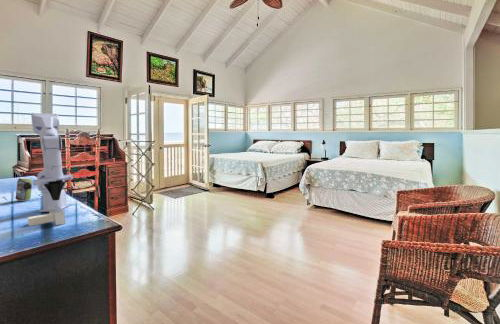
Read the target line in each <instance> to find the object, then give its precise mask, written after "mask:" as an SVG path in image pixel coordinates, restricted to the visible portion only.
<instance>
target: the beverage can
mask: <svg viewBox="0 0 500 324" xmlns="http://www.w3.org/2000/svg"><path fill="white" fill-rule="evenodd" d="M16 182H17V183H16V190H15V199H16V200H17V201H20V202H21V201H22V202H25V201H29V200H31V197H32V188H33V179H32V178H31V177H18V179H17V180H16Z"/></svg>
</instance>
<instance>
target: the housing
mask: <svg viewBox="0 0 500 324" xmlns="http://www.w3.org/2000/svg"><path fill="white" fill-rule="evenodd" d="M50 213H53V219H54V221H53V223H54V225H55V226H61V225H64V224H66V215H65V211H64V209H61V208H60V207H59V206H58V205H52V206H49V212H48V214H50Z"/></svg>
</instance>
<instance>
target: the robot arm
mask: <svg viewBox="0 0 500 324" xmlns="http://www.w3.org/2000/svg"><path fill="white" fill-rule="evenodd" d="M30 116H31V127H32V131H33V133H34V134H37V135H39V139H40V148H41V152H42V161H43V162H42V163H43V169H42V170H41V171H40V172H38V173H37V176H36V177H37V178H36V179H32V186H37V190H38V191H39V192H41V194H42V195H41V196H42V205H43V208H42V209H39V210H38V212H39V213H42V212H43V213H47V212H48V213H49V206H52V205H58V206H59V207H60V208H61V209H62V210H64V209H65V208H68V207H69V204H67V202H68V201H67V194H66V191H65V190H64V188H65V186H66V181H68V180H73V179H74V175H73V174H64V172H63V162H62V149H63V142H62V141H63V140H62V137H61V135H59V131H60V130H59V129H60V117H59V114H58V113H34V112H32V113H31V115H30Z"/></svg>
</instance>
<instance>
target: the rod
mask: <svg viewBox="0 0 500 324" xmlns="http://www.w3.org/2000/svg"><path fill="white" fill-rule="evenodd" d="M27 220H28V221H27V223H28V224H27V225H28V227H30V226H37V225H42V224H43V225H44V224H48V223H54V219H53V213H50V214H49V213H45V214H40V215H35V216H34V215H33V216H27Z"/></svg>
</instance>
